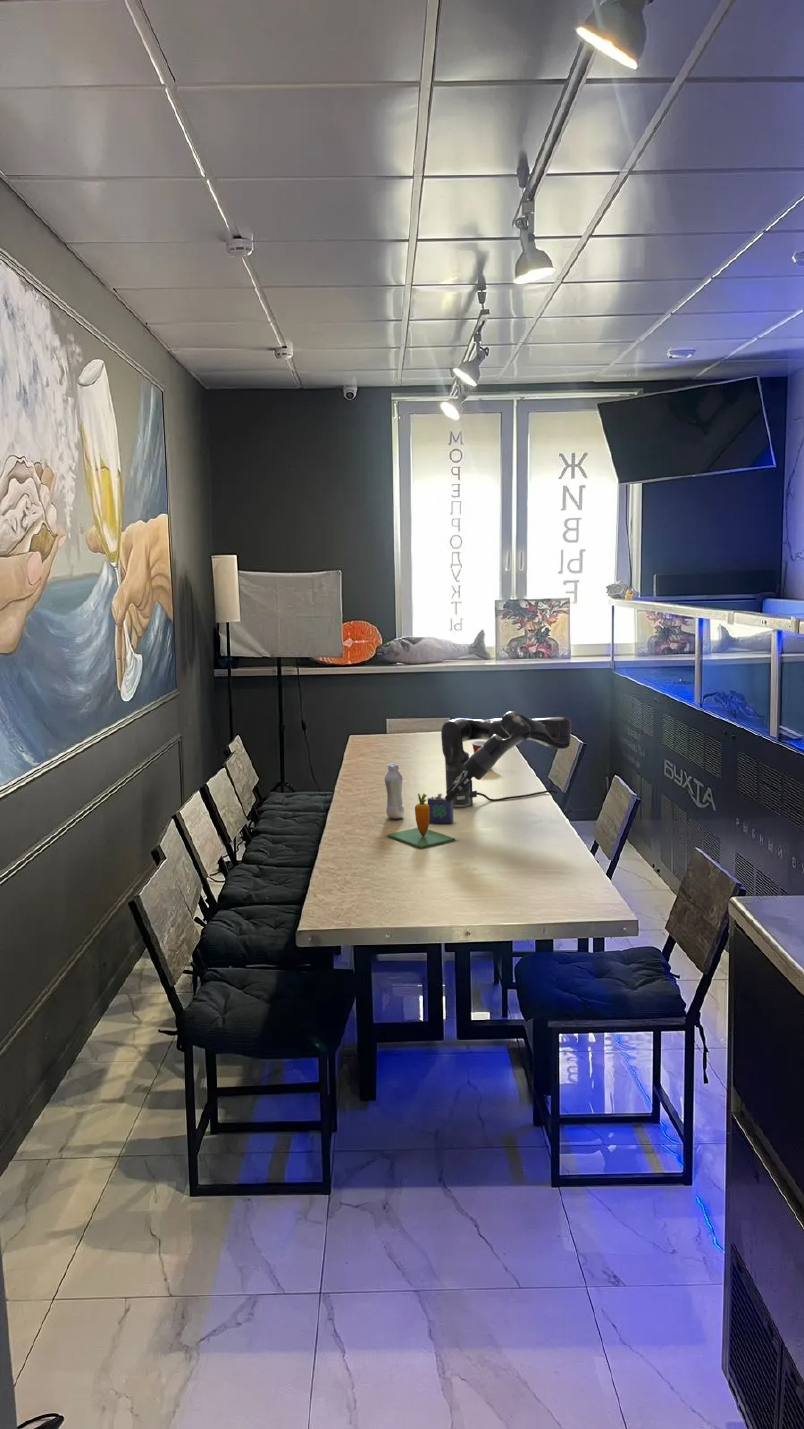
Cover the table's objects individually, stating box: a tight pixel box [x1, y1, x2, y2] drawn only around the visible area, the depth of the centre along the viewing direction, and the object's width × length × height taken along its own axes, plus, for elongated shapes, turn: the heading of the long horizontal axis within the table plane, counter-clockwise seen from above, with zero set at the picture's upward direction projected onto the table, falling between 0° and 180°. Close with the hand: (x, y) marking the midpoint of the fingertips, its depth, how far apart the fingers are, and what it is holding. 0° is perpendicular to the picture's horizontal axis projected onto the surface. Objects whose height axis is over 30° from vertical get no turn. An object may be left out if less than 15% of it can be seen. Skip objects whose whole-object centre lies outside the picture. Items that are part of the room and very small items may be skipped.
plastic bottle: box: [384, 763, 405, 820], centre depth 350 cm, size 6×7×20 cm
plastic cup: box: [471, 740, 487, 754], centre depth 434 cm, size 11×11×12 cm
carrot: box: [414, 793, 430, 837], centre depth 321 cm, size 5×5×15 cm
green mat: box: [386, 827, 456, 849], centre depth 323 cm, size 14×20×1 cm
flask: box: [427, 793, 454, 825], centre depth 341 cm, size 9×3×11 cm, turn 74°
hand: (447, 797), depth 319 cm, fingers open, 8 cm apart
